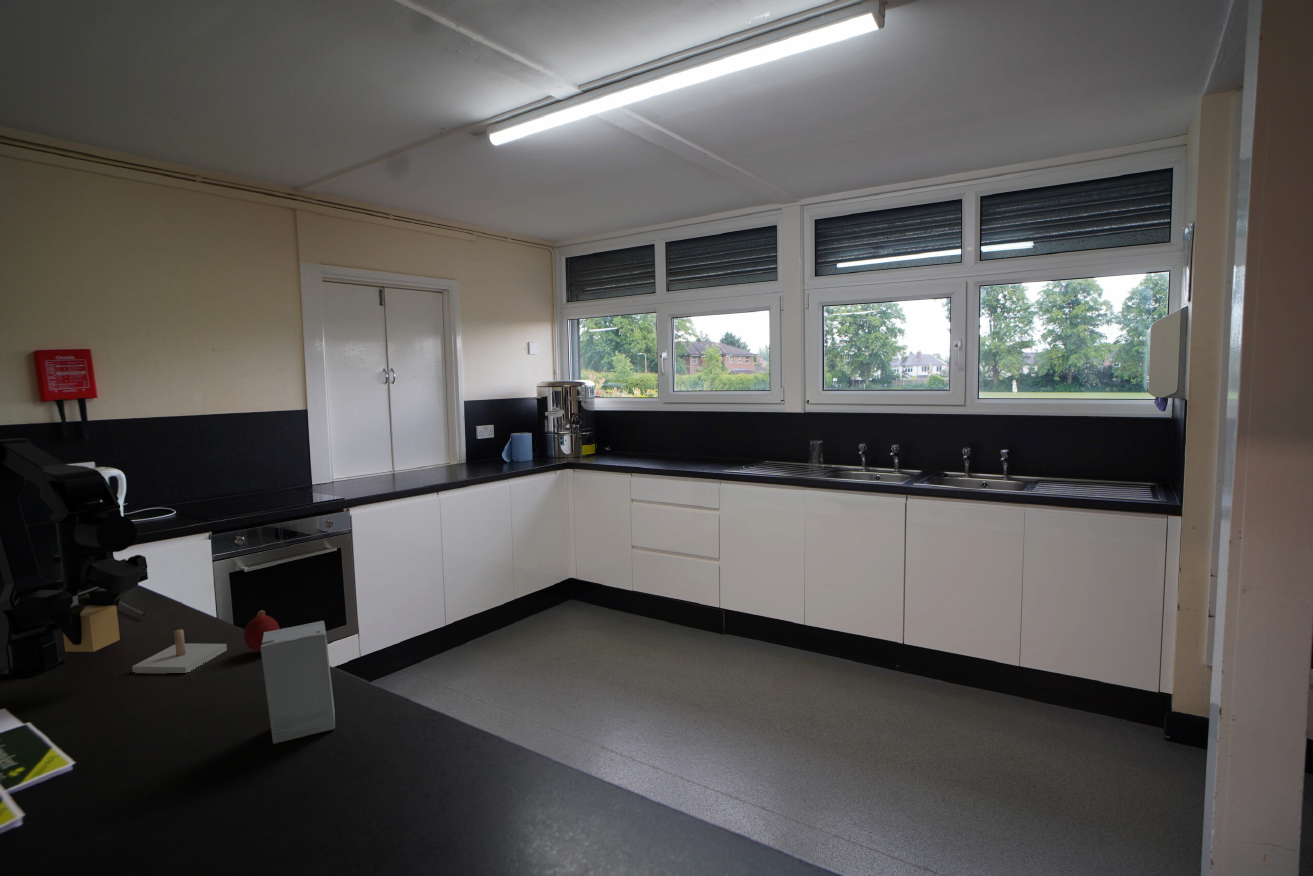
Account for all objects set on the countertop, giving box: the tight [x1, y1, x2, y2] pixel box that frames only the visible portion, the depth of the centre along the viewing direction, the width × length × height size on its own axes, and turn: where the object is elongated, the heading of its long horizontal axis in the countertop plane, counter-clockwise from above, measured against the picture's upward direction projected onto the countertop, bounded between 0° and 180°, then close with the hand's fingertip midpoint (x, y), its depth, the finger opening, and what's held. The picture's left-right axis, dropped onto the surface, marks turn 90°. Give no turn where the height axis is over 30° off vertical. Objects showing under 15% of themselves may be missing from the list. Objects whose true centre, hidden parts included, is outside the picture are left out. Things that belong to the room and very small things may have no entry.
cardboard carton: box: [62, 604, 121, 653], centre depth 113 cm, size 5×5×6 cm
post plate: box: [131, 629, 228, 674], centre depth 123 cm, size 10×10×6 cm
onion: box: [243, 610, 281, 653], centre depth 126 cm, size 6×6×8 cm
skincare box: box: [260, 620, 336, 745], centre depth 98 cm, size 8×6×15 cm
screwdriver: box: [86, 593, 148, 617], centre depth 153 cm, size 3×3×30 cm
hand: (92, 638), depth 113 cm, fingers closed on cardboard carton, 5 cm apart
